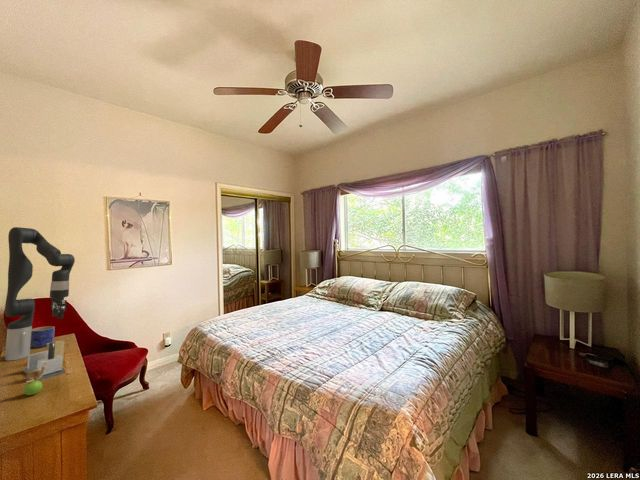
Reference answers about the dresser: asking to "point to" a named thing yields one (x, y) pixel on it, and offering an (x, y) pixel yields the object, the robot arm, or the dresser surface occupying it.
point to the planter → (42, 336)
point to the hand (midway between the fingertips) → (57, 317)
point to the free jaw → (51, 361)
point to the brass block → (58, 348)
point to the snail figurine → (34, 381)
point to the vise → (33, 364)
